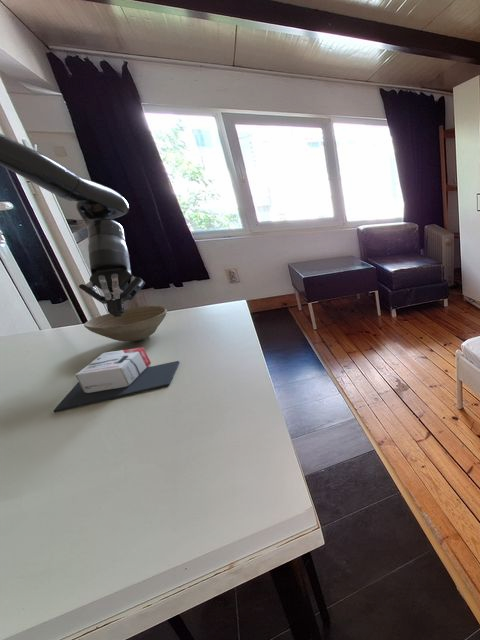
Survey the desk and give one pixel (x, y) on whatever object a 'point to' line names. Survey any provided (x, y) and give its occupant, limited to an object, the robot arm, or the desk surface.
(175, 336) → the desk surface
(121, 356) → the ink box
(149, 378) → the mat
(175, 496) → the desk surface
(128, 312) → the bowl
